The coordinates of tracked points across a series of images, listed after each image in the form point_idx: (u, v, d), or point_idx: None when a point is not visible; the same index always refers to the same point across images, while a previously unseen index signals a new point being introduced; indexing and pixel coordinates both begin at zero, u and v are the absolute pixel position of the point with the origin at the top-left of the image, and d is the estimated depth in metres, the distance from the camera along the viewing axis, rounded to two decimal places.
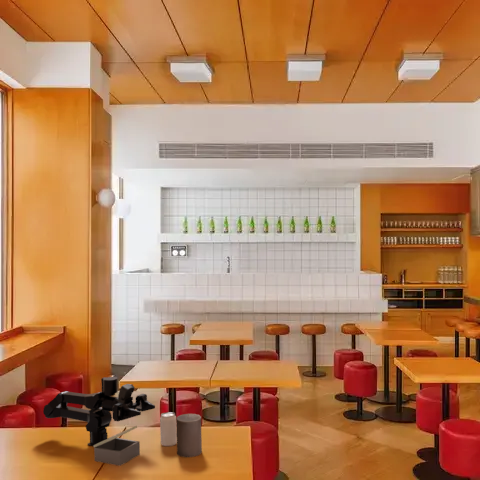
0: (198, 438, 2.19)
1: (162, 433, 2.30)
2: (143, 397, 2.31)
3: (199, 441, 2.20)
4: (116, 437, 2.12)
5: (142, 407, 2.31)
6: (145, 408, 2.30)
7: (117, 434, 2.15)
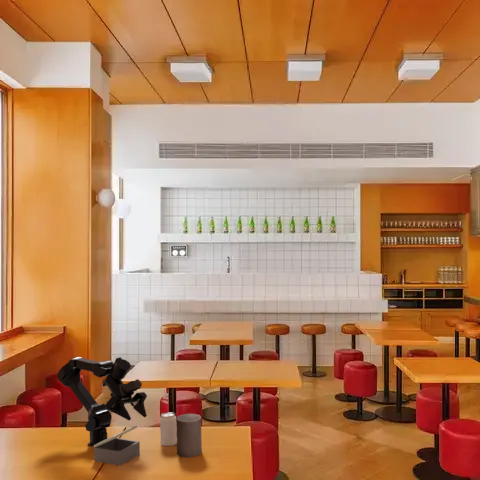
0: (198, 438, 2.19)
1: (162, 433, 2.30)
2: (142, 399, 2.27)
3: (199, 441, 2.20)
4: (116, 437, 2.12)
5: (136, 406, 2.27)
6: (137, 409, 2.27)
7: (117, 434, 2.15)
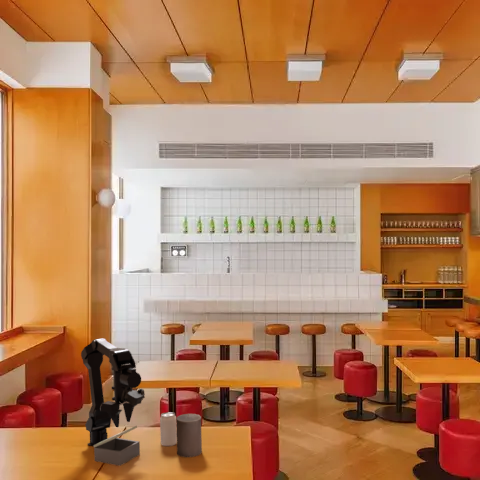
0: (198, 438, 2.19)
1: (162, 433, 2.30)
2: None
3: (199, 441, 2.20)
4: (116, 437, 2.12)
5: (126, 404, 2.22)
6: (125, 408, 2.22)
7: (117, 434, 2.15)
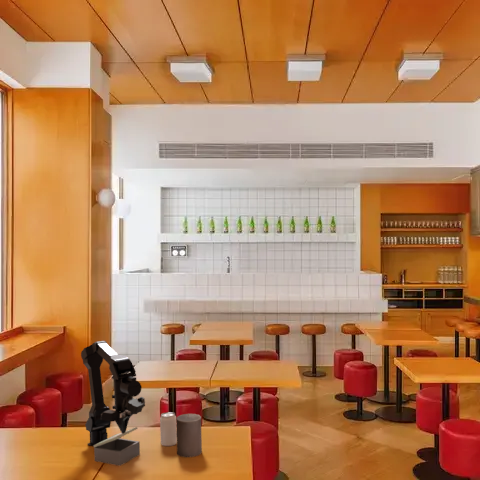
0: (198, 438, 2.19)
1: (162, 433, 2.30)
2: (130, 415, 2.18)
3: (199, 441, 2.20)
4: (116, 438, 2.11)
5: None
6: None
7: (117, 435, 2.15)
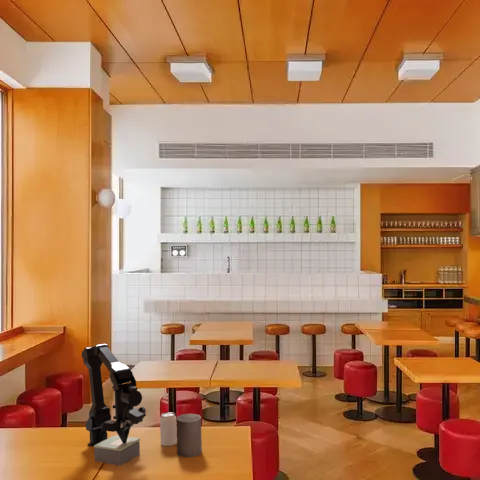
0: (198, 438, 2.19)
1: (162, 433, 2.30)
2: (131, 425, 2.18)
3: (199, 441, 2.20)
4: (119, 450, 2.11)
5: None
6: None
7: (120, 445, 2.15)
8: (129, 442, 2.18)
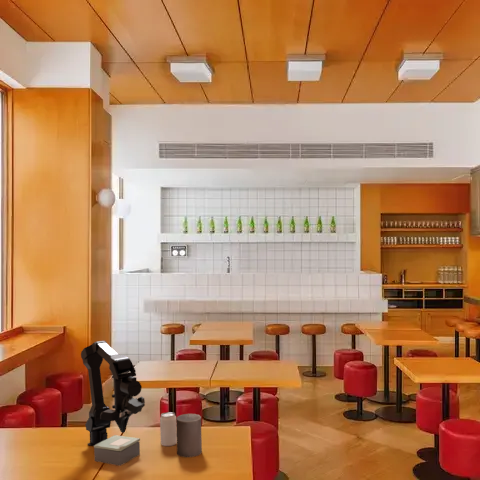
0: (198, 438, 2.19)
1: (162, 433, 2.30)
2: (130, 415, 2.18)
3: (199, 441, 2.20)
4: (119, 450, 2.11)
5: None
6: None
7: (120, 445, 2.15)
8: (129, 442, 2.18)
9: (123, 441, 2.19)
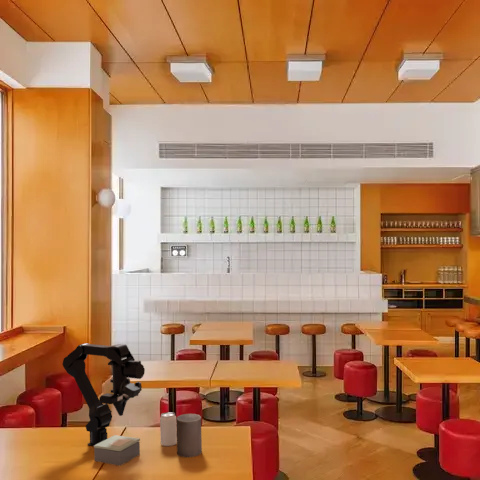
0: (198, 438, 2.19)
1: (162, 433, 2.30)
2: (127, 399, 2.29)
3: (199, 441, 2.20)
4: (119, 450, 2.11)
5: None
6: None
7: (120, 445, 2.15)
8: (129, 442, 2.18)
9: (123, 441, 2.19)
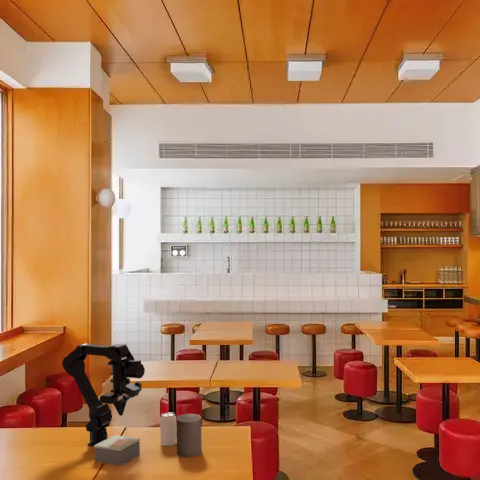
0: (198, 438, 2.19)
1: (162, 433, 2.30)
2: (128, 399, 2.29)
3: (199, 441, 2.20)
4: (119, 450, 2.11)
5: None
6: None
7: (120, 445, 2.15)
8: (129, 442, 2.18)
9: (123, 441, 2.19)
